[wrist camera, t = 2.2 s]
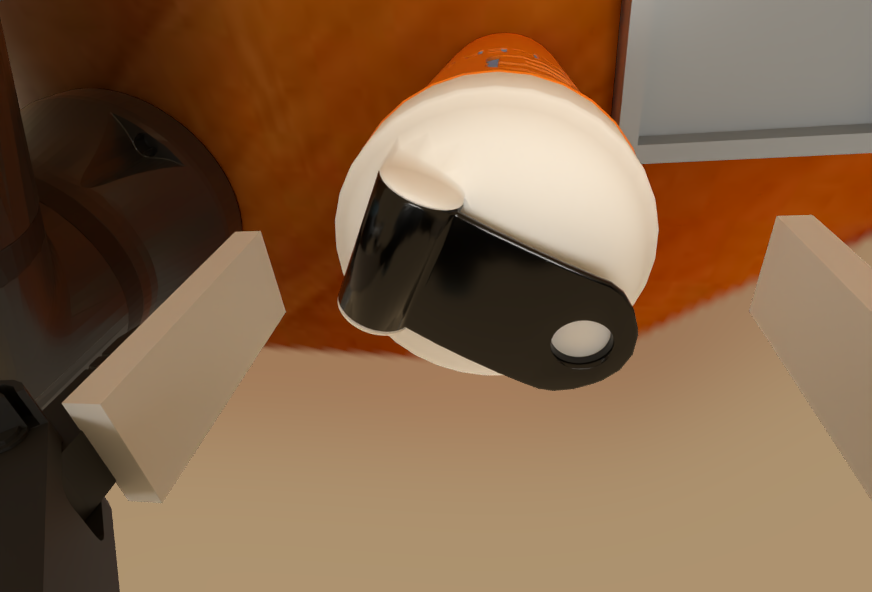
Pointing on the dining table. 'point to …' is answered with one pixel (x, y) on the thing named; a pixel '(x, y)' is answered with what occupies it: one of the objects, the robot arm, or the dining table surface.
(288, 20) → the dining table surface
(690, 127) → the tray
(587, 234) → the shaker bottle
